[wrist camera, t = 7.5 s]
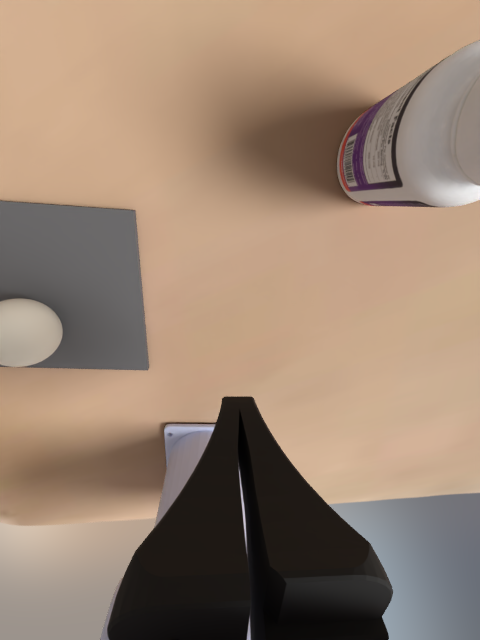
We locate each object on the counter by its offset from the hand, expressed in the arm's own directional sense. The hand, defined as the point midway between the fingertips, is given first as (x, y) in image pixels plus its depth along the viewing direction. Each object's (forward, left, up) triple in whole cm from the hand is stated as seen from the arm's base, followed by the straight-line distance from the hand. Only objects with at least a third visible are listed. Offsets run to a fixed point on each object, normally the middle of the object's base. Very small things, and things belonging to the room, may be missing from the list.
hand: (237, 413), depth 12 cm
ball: (+2, +13, -8) cm, 16 cm away
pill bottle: (+12, -8, -10) cm, 17 cm away
